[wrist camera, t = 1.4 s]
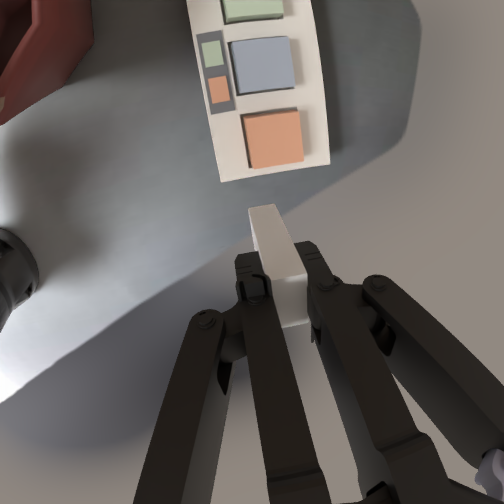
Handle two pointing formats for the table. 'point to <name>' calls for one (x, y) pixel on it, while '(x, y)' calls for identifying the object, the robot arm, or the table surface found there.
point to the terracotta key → (274, 138)
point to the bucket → (39, 49)
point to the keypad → (263, 101)
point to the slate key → (263, 64)
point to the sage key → (252, 9)
